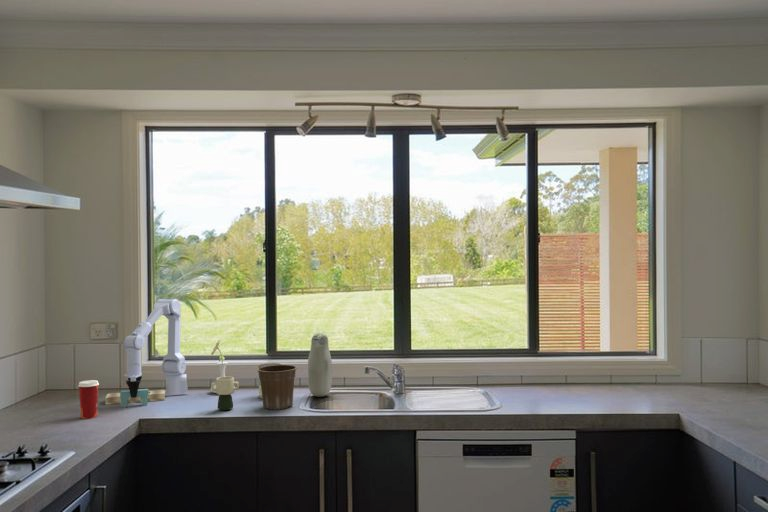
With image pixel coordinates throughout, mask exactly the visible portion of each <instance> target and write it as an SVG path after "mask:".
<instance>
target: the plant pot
mask: <svg viewBox="0 0 768 512" xmlns="http://www.w3.org/2000/svg"><path fill="white" fill-rule="evenodd" d="M296 370H297V366H296V365H291V364H281V365H271V366H264V367H260V368H259V367H258V368H257V369H256V371H257V372H258V373H257V374H258V380H259V379H260V382H261V390H262V398H261V399H262V405H263V408H264V409H267V410H268V409H269V410H277V411H278V410H283V409H288V408H291V407H293V405H294V388H295V377H296Z"/></svg>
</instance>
